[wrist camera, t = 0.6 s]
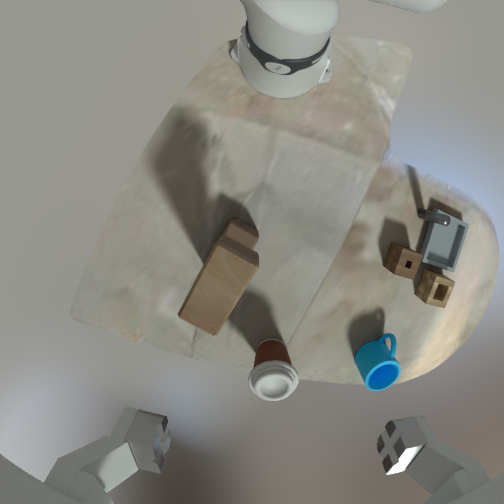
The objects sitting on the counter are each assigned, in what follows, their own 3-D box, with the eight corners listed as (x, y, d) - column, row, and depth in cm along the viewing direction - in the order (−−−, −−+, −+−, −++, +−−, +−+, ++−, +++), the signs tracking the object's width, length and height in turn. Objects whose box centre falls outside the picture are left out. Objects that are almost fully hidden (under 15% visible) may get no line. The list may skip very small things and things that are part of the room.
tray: (432, 208, 48) (438, 209, 46) (462, 222, 49) (468, 224, 46) (417, 258, 51) (422, 261, 49) (448, 269, 51) (453, 272, 49)
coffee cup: (268, 373, 58) (270, 411, 47) (240, 349, 57) (237, 386, 45) (301, 351, 57) (310, 388, 45) (274, 324, 55) (278, 359, 43)
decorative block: (233, 216, 50) (217, 239, 30) (260, 232, 50) (262, 266, 31) (203, 267, 52) (174, 316, 33) (229, 282, 53) (214, 339, 33)
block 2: (424, 268, 51) (436, 276, 47) (443, 274, 52) (455, 282, 47) (414, 294, 53) (425, 303, 48) (433, 299, 53) (444, 308, 48)
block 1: (391, 242, 50) (403, 248, 45) (410, 248, 50) (422, 255, 46) (383, 266, 51) (393, 274, 47) (402, 271, 52) (413, 279, 47)
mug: (377, 370, 58) (389, 391, 50) (349, 367, 58) (358, 389, 50) (399, 328, 55) (415, 347, 47) (370, 322, 55) (385, 342, 47)
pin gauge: (419, 207, 48) (444, 213, 40) (426, 210, 48) (451, 217, 40) (416, 216, 49) (441, 224, 40) (423, 219, 49) (448, 227, 40)
